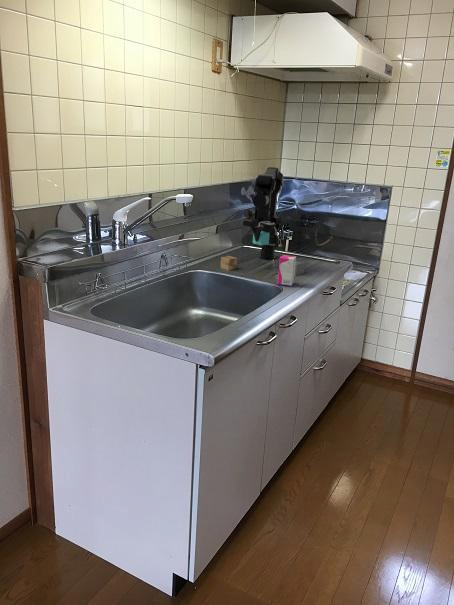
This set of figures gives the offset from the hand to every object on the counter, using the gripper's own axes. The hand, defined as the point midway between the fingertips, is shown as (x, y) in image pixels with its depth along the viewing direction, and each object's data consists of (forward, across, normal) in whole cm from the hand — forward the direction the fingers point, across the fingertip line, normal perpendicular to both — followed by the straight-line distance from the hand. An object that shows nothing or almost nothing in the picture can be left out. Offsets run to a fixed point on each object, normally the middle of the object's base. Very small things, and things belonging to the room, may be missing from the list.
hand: (260, 240), depth 218 cm
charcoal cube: (+13, -9, +14) cm, 21 cm away
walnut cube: (+13, +11, -8) cm, 19 cm away
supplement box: (+13, +8, +23) cm, 27 cm away
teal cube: (+1, 0, 0) cm, 1 cm away
